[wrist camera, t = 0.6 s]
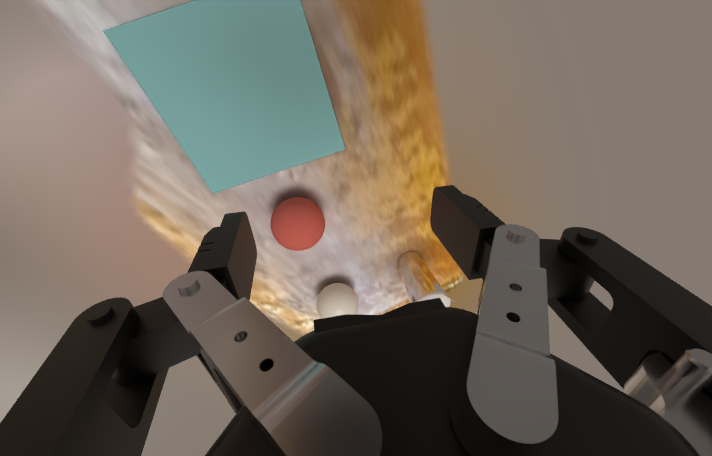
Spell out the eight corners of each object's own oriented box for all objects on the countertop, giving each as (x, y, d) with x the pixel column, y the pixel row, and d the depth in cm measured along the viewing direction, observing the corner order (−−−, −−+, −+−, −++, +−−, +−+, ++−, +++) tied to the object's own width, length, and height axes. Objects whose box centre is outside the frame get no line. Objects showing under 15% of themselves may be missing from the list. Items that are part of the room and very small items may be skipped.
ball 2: (311, 278, 39) (314, 312, 35) (352, 270, 40) (360, 302, 35) (318, 304, 42) (322, 338, 38) (355, 297, 43) (363, 329, 39)
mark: (104, 31, 21) (103, 31, 21) (290, -32, 21) (290, -33, 21) (212, 192, 30) (212, 193, 29) (345, 148, 29) (345, 149, 29)
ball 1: (265, 192, 31) (262, 222, 26) (318, 183, 31) (323, 211, 27) (278, 233, 34) (277, 266, 30) (325, 225, 34) (331, 256, 30)
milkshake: (435, 250, 40) (471, 308, 32) (410, 275, 42) (437, 336, 35) (411, 238, 38) (444, 297, 30) (386, 265, 40) (410, 327, 32)
